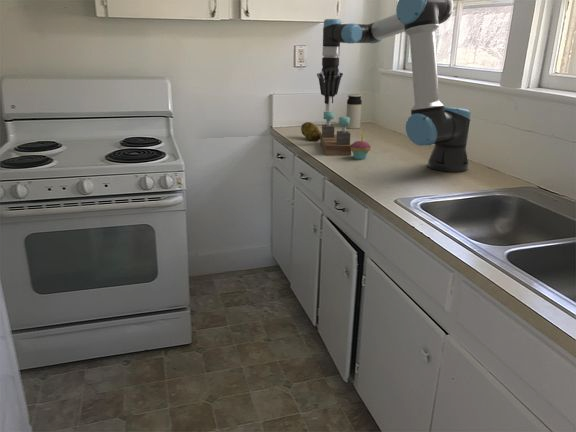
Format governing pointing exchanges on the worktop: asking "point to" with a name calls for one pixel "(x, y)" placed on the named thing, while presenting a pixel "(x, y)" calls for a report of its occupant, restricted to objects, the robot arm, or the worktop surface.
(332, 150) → the mount
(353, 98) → the travel mug
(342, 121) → the knob near
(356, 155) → the cupcake
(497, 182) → the worktop surface
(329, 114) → the knob far
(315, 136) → the potato
